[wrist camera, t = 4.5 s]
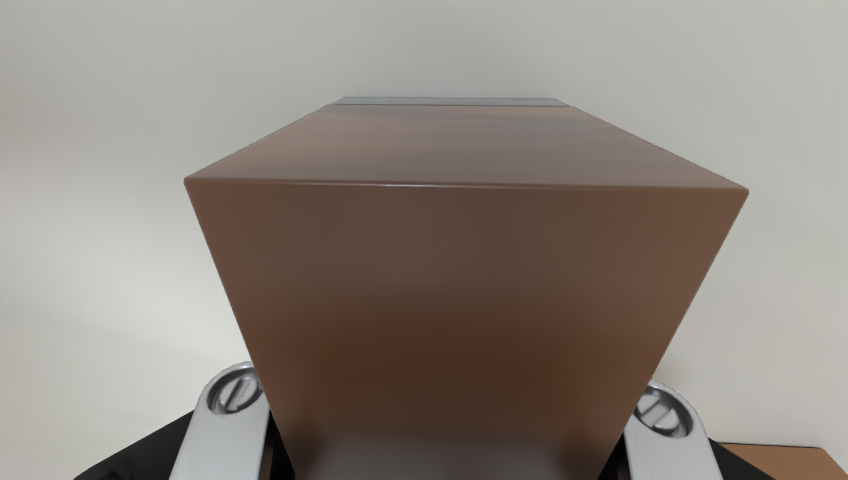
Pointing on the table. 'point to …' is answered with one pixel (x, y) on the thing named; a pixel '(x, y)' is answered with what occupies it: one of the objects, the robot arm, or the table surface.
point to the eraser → (457, 281)
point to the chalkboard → (790, 462)
